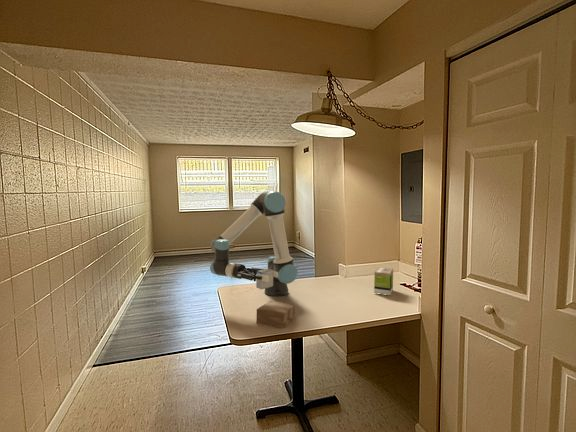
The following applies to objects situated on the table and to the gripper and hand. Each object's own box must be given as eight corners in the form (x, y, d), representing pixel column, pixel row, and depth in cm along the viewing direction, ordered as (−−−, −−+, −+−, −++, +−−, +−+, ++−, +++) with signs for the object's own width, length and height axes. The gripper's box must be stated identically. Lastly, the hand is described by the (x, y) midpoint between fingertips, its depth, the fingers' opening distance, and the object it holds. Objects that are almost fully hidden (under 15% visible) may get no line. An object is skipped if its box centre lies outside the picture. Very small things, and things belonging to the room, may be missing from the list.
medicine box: (267, 284, 161) (267, 268, 161) (273, 286, 158) (273, 269, 158) (256, 287, 155) (256, 270, 155) (262, 289, 153) (262, 272, 152)
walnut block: (269, 313, 162) (270, 300, 162) (294, 318, 156) (294, 304, 156) (256, 323, 149) (256, 309, 149) (282, 329, 144) (283, 314, 143)
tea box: (377, 288, 212) (378, 266, 211) (393, 290, 208) (394, 268, 207) (373, 294, 199) (374, 271, 198) (389, 296, 194) (390, 273, 193)
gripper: (247, 273, 175) (283, 279, 164) (223, 282, 156) (261, 289, 145) (247, 260, 174) (283, 265, 164) (223, 267, 155) (261, 273, 145)
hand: (273, 276), depth 154 cm, fingers closed on medicine box, 8 cm apart
